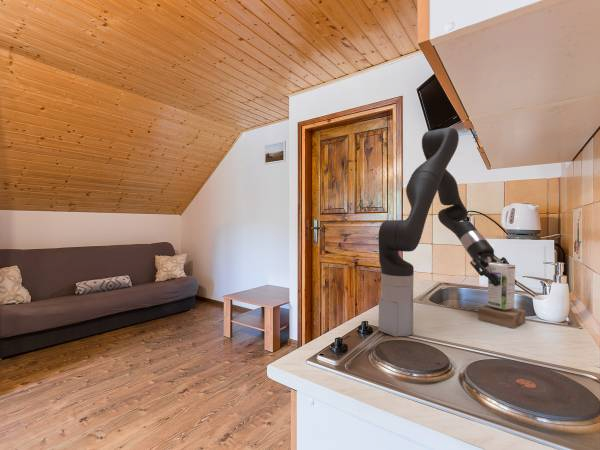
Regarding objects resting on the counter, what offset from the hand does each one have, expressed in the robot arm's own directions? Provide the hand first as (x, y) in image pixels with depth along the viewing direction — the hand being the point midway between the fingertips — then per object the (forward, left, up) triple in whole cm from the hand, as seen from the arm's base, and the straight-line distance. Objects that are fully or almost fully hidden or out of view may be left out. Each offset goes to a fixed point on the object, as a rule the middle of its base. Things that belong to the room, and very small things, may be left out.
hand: (506, 284), depth 96 cm
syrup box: (+1, +2, -8) cm, 8 cm away
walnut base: (+1, +1, -13) cm, 13 cm away
